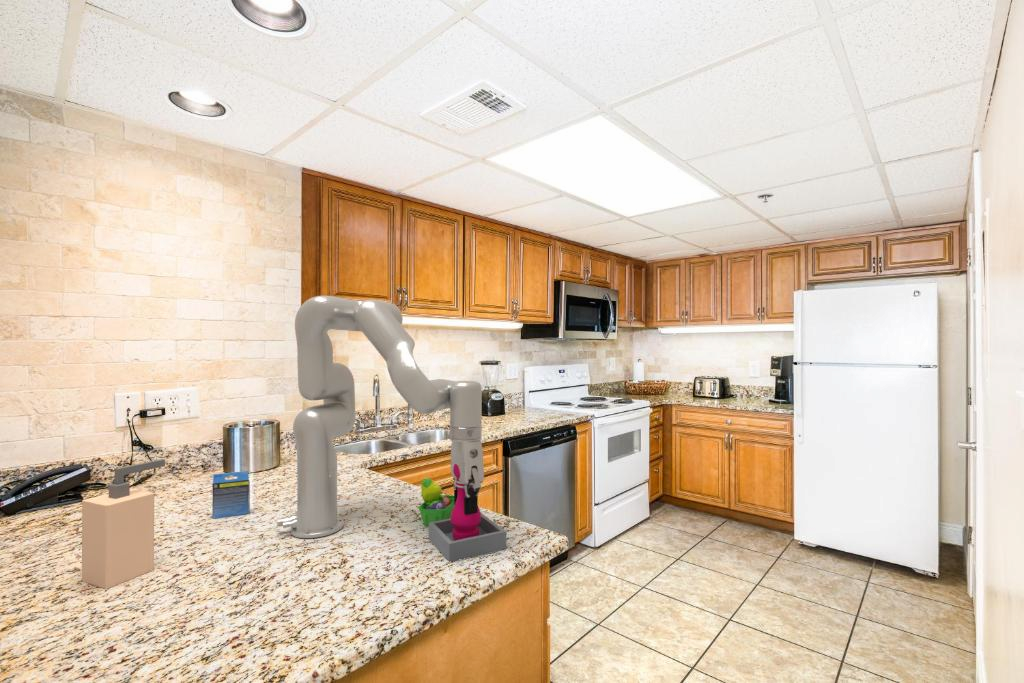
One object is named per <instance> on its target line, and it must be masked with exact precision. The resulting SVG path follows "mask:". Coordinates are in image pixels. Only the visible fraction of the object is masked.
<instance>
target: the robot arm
mask: <svg viewBox="0 0 1024 683" xmlns="http://www.w3.org/2000/svg"><path fill="white" fill-rule="evenodd" d="M403 321H404V320H403V314H402V311H401V310H400V308H399V307H398V306H397V305H396V304H394V303H392V302H388V301H384V300H379V299H367V300H356V299H349V298H345V297H344V298H343V297H339V296H333V295H316V296H313V297H310V298H308V299H307V300H305V301H304V303H302V304H301V305H300V306H299V309H298V310H297V312H296V314H295V320H294V332H295V333H294V334H295V338H296V347H297V351H296V352H297V357H296V358H297V383H298V384H297V385H298V391H299V392H298V393H299V394H300V396H301V397H302V398H303V399H305V400H308V401H321V400H322V401H323V404H318V405H317V404H316V405H313V406H310V407H307V408H304V409H303V410H301V411H300V412H299V413H298V414H297V415H296V417H295V418H294V420H293V425H292V430H293V432H292V434H293V437H294V443H295V447H296V448H295V449H296V465H297V466H296V470H297V473H296V474H297V478H296V479H297V480H296V483H297V486H296V487H297V488H296V489H297V490H296V491H297V497H296V498H297V500H296V504H297V506H296V508H297V509H296V511H295V512H294V514H292V515H290V516H289V517H288V516H287V517H279V518H277V520H276V525H277V526H276V527H277V528H278V527H282V528H283V529H285V528H289V527H290V531H289V532H290V534H291V535H292V536H293V537H295V538H300V539H316V538H322V537H325V536H331V535H333V534H335V533H337V532H339V531H340V530H342V528H343V527H344V523H345V522H344V520H343V518H341V517H339V516H338V455H337V452H336V448H335V445H334V443H333V439H336V438H337V439H338V438H340V437H342V436H346V435H348V433H349V432H351V431H352V429H353V428H354V425H355V422H356V394H355V390H356V389H355V379H354V375H353V373H352V371H351V370H350V369H349V367H348V366H347V365H345V364H343V363H339V362H334V348H333V343H332V341H331V339H330V336H329V334H328V331H330V330H336V331H350V332H361V333H362V334H363V335H364V337H366V338H367V340H368V341H369V342H370V344H372V346H373V347H374V348H375V350H376V351H377V352H378V353H379V355H380V356H381V357H382V358H383V359H384V361H385V362H386V366H387V371H388V374H389V378H390V379H391V383H392V384H393V386H394V388H395V389H396V391H397V392H398V393H399V394H400V396H401V397H402V398H403V400H404V401H405V402H406V403H407V404H408V406H410V407H411V408H412V409H413V410H414V411H415V412H418V413H419V414H424V415H428V414H433V413H435V412H438V411H439V412H440V411H442V410H446V409H447V410H448V409H449V441H451V447H450V474H451V476H452V478H453V479H452V480H453V491H454V492H453V496H454V505H455V503H456V500H457V494H458V490H457V487H456V485H455V484H456V482H455V480H456V479H457V478H456V476H455V475H454V473H453V468H454V465H455V464H457V465H458V467H459V470H460V478H459V481H460V482H461V483H463V484H464V486H465V495H466V497H464V514H465V515H469V514H475V513H477V512H478V507H479V505H478V504H479V503H478V502H479V501H478V497H479V492H480V489H482V483H483V482H484V481H485V472H484V471H485V470H484V469H485V468H484V467H485V466H484V465H485V464H484V453H483V452H484V451H483V446H482V439H483V438H482V437H483V436H482V431H483V430H482V427H483V426H482V421H483V420H482V419H483V418H482V413H483V412H482V410H483V408H482V407H483V406H482V402H483V400H482V398H483V396H482V395H483V390H482V385H481V383H480V382H479V381H475V380H457V381H455V380H449V379H445V378H443V379H442V378H437V379H428V377H427V376H426V375H425V374H424V372H423V371H422V370H421V368H420V367H419V366H418V364H417V362H416V360H415V358H414V354H413V353H414V349H415V345H416V344H415V343H416V342H415V340H414V339H413V337H412V336H411V335H410V334H409V332H407V331H406V329H405V328H404V327H403V326H402V325H403ZM470 480H472V481H473V483H469V482H468V481H470ZM472 485H473V487H472V488H470V490H469V486H472Z"/></svg>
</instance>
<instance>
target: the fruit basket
mask: <svg viewBox="0 0 1024 683" xmlns="http://www.w3.org/2000/svg"><path fill="white" fill-rule="evenodd" d="M420 489H421V491H420V492H421V498H422V500H423V502H422V504H420V505H419V506H418V510H419V512H420V515H421V520H422V522H423V523H422V524H423V525H426V526H425V527H429V523H430V522H435V521H440V520H445V519H451V513H452V510H453V507H454V495H453V494H452V495H449V494H448V495H447V494H441V493H442V492H443V490H442V487H441V486H440V485H439V483H436V482H435V480H433V479H431V478H429V477H427V478H423V479H422V481H421V484H420ZM427 525H428V526H427Z"/></svg>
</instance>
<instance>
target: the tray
mask: <svg viewBox="0 0 1024 683" xmlns="http://www.w3.org/2000/svg"><path fill="white" fill-rule="evenodd" d="M480 513H481V521H480V523H479V525H478V526H477V527H478V528H479V536H474V537H470V538H465V539H461V540H455V539H453V528H454V526H453V525H452V523H451V518H450V519H445V520H440V521H435V522H430V523H429V526H428V541H430V543H431V542H432V543H433V544H434V545H435V546H436V547H437V548H436V547H435V546H434V545H433V544H432V543H431V544H432V545H433V546H434V547H435V548H436V550H438V552H439V551H440V552H441V553H442V554H443V555H444V556H443V555H442V554H441V553H440V552H439V553H440V554H441V555H442V556H443V557H444V558H445V559H446V560H448V561H449V562H448V563H451V562H450V561H454V562H456V561H455V560H458V561H460V560H459V559H462V560H465V559H464V558H466V559H469V558H468V557H470V558H474V557H473V556H475V557H479V556H482V555H481V554H483V555H486V553H487V554H491V553H495V552H494V551H496V552H499V550H500V551H503V549H504V550H507V531H506V530H505V529H504V528H502V527H501V526H500V525H498V524H497V523H496V522H494V521H493V520H492V519H490V518H489V517H488V516H487V515H485V514H483V513H482V512H480ZM478 555H479V556H478Z"/></svg>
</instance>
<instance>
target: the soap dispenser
mask: <svg viewBox="0 0 1024 683" xmlns="http://www.w3.org/2000/svg"><path fill="white" fill-rule="evenodd" d="M165 466H166V459H164V458H160V459H155V460H151V461H150V460H149V461H145V462H141V463H135V464H132V465H131V464H130V465H126V466H122V467H118V468H114V482H113V483H110V484H108V493H105V494H102V495H98V496H94V497H89V498H86V499H82V502H81V507H82V508H81V510H82V511H81V582H82V583H83V582H84V583H86V584H90V585H93V586H96V587H99V588H101V589H103V590H104V589H105V590H108V589H111V588H113V587H115V586H118V585H120V584H123V583H126V582H127V581H130V580H133V579H135V578H138V577H141V576H142V575H144V574H148V573H150V572H153V571H154V570H155V492H151V491H145V490H142V489H141V490H140V489H135V488H130V482H126V481H125V476H127V475H132V474H136V473H141V472H145V471H149V470H154V469H158V468H159V469H160V468H163V467H165Z"/></svg>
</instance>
